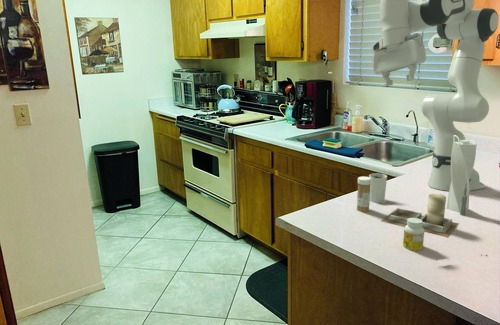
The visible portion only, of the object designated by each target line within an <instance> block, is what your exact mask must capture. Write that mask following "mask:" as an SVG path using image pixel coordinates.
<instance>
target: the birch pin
mask: <svg viewBox="0 0 500 325" xmlns="http://www.w3.org/2000/svg"><path fill="white" fill-rule="evenodd" d="M446 201H447V196H445V195H444V194H441V193H430V194H429V195H428V201H427V211H426V214H427V220H426V223H429V224H433V225H438V226H442V227H443V223H444V218H445V212H446V205H447V202H446Z"/></svg>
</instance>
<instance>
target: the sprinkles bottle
mask: <svg viewBox="0 0 500 325" xmlns="http://www.w3.org/2000/svg"><path fill="white" fill-rule="evenodd" d="M370 185H371V178H369V176H359V177H357V197H356V198H357V199H356V210H357V211H358V212H361V213H366V212H369V211H370V202H371V201H370Z"/></svg>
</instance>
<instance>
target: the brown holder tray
mask: <svg viewBox="0 0 500 325" xmlns="http://www.w3.org/2000/svg"><path fill="white" fill-rule="evenodd" d="M408 218H418V219H420V220H422V227H423V229H424V233H428V234H432V235H437V236H441V237H445V238H449V237H450V236H451V234H452V233H453V232H454V231H455V230H456V228H457V227H458V226H459V224H460V222H459V223H458V222H454V221H453V219H452V218H446V217H444V223H443V227H442V226H438V225H433V224H429V223H426V220H427V213H425V214H424V215H423V214H422V212H419V211H415V210H408V209H405V208H400V207H397V208H395V209H394V210H393V211H391V212H390V213H389V214H387V215H386V216H385V217H384V218H383V219H382V220H380V222H382V223H386V224H391V225H394V226H398V227H403V228H405V226H406V225H407V219H408Z"/></svg>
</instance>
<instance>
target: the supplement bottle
mask: <svg viewBox="0 0 500 325" xmlns="http://www.w3.org/2000/svg"><path fill="white" fill-rule="evenodd" d="M403 228H404V229H403V239H402V240H403V241H402V246H403V248H405V249H406V250H409V251H413V252H420V251H422V250H423V248H424V241H425V232H424V229H423V227H422V220H420V219H418V218H408V219H407V225H406V226H405V227H403Z"/></svg>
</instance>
